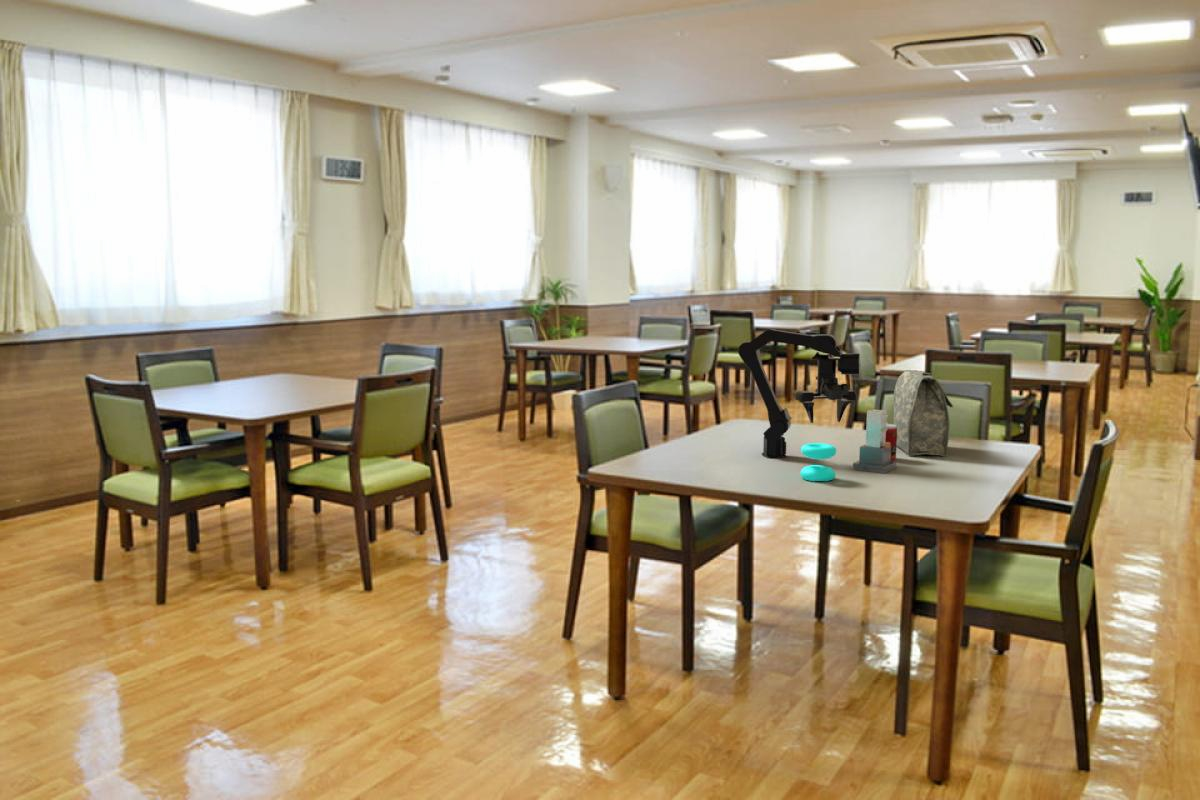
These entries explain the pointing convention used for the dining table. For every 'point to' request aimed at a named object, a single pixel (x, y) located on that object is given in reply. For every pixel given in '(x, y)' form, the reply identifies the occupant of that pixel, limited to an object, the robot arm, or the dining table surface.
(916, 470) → the dining table surface
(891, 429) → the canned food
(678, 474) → the dining table surface
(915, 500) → the dining table surface
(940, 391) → the bag
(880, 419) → the column
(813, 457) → the donuts
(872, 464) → the stand base
